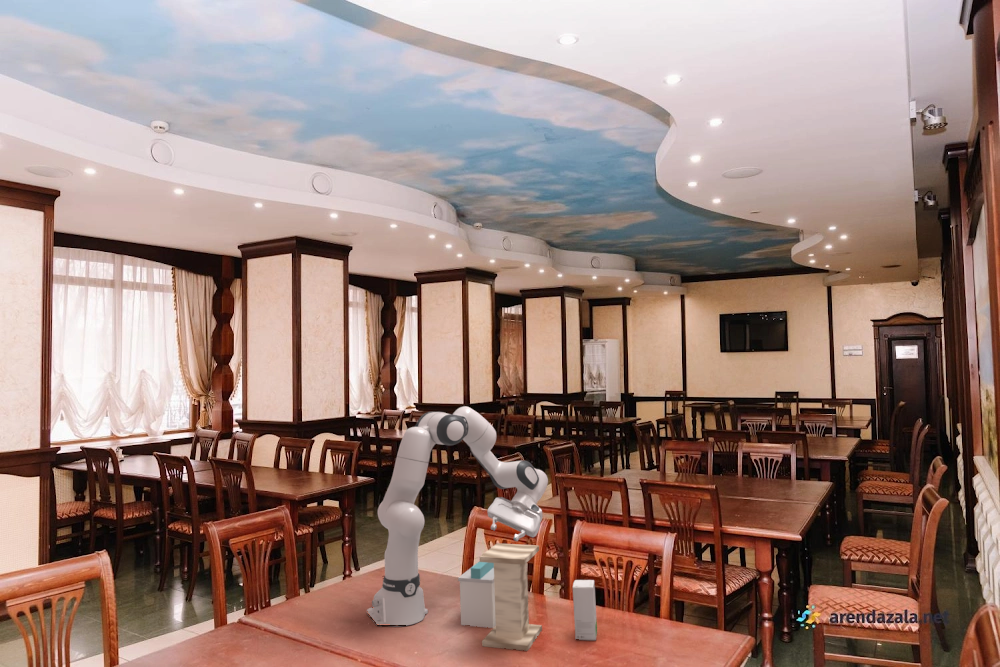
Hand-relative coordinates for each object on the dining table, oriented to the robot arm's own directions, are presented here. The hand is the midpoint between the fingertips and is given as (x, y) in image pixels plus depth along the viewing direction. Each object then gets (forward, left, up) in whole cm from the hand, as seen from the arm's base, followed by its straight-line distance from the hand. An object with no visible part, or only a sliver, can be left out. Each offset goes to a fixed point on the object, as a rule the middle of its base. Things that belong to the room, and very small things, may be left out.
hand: (503, 534), depth 239 cm
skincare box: (+44, -2, -23) cm, 49 cm away
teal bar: (+9, -13, -7) cm, 18 cm away
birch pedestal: (+31, -20, -22) cm, 43 cm away
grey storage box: (+11, -17, -22) cm, 30 cm away
